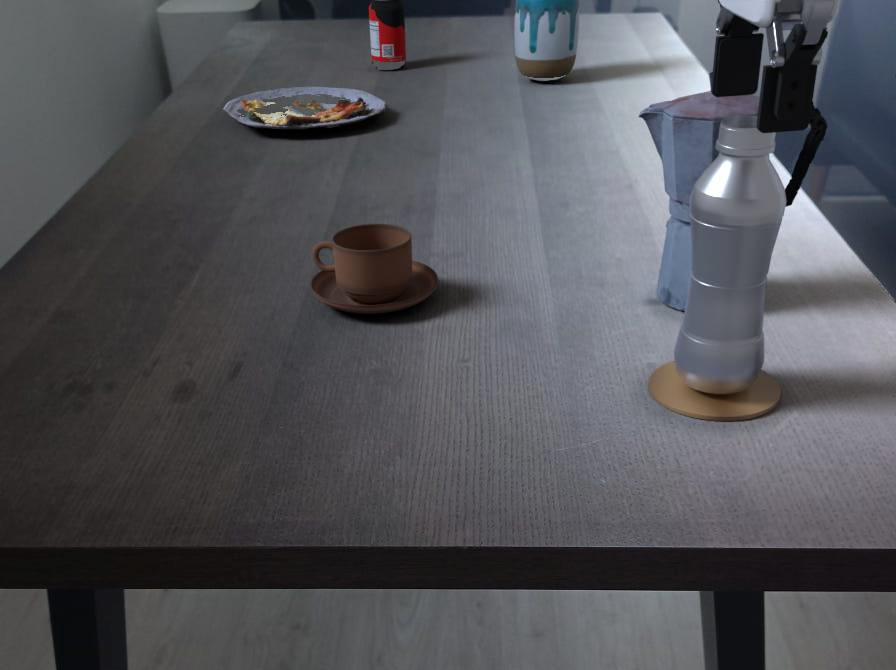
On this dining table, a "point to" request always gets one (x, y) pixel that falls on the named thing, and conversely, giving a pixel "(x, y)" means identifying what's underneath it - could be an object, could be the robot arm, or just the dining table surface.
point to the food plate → (329, 118)
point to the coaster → (713, 397)
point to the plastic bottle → (730, 261)
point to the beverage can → (387, 30)
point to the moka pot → (702, 170)
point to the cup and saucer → (372, 271)
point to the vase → (546, 37)
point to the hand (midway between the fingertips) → (756, 111)
